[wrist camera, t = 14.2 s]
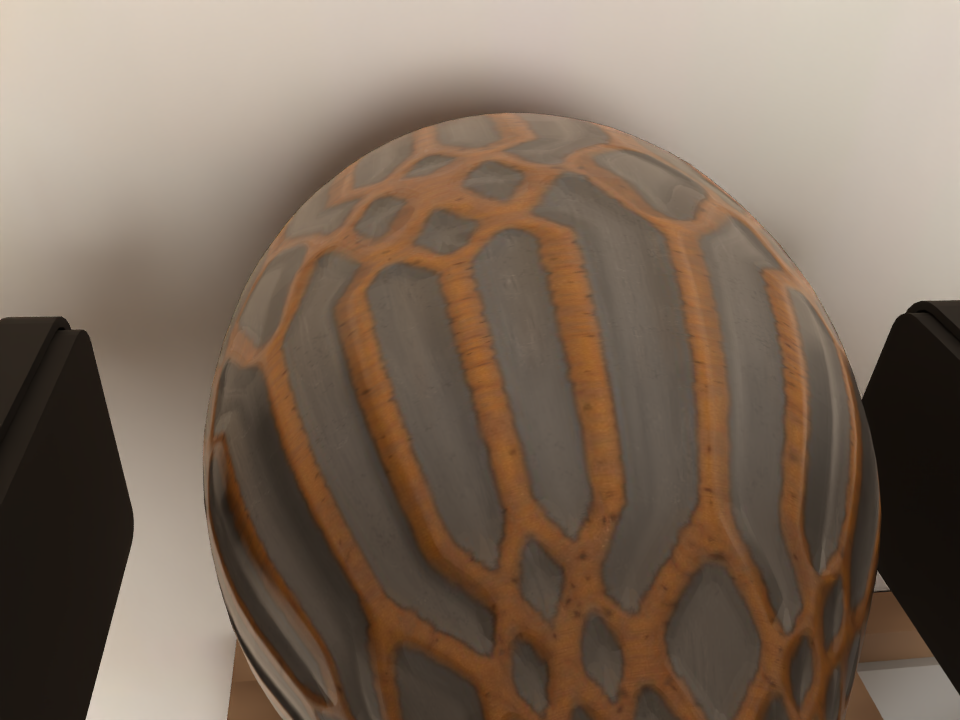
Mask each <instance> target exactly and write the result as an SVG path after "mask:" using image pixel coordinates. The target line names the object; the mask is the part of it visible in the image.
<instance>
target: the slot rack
mask: <svg viewBox="0 0 960 720" xmlns="http://www.w3.org/2000/svg"><path fill="white" fill-rule="evenodd" d="M227 720H283V719H282V718H281V717H280V715H279V714H278V712H277V711H276V710H275V708H274V707H273V705H272V704H271V702H270V700H269V699H268V697H267V696H266V694H265V692H264V691H263V689H262V688H261V686H260V685H259V683H258V681H257V679H256V678H255V676H254V674H253V672H252V671H251V669H250V666H249V664H248V662H247V660H246V657H245V655H244V653H243V651H242V648H241V646H240V644H239V642H238V639H237V643H236V651H235V659H234V667H233V675H232V684H231V692H230V700H229V708H228V717H227ZM844 720H960V695H959V694H958V692H957V691H956V689H955V688H954V686H953V685H952V683H951V682H950V680H949V678H948V677H947V675H946V674H945V672H944V671H943V669H942V668H941V666H940V665H939V663H938V662H937V660H936V659H935V657H934V656H933V654H932V653H931V651H930V649H929V648H928V646H927V645H926V643H925V642H924V640H923V639H922V637H921V636H920V634H919V633H918V631H917V630H916V628H915V627H914V625H913V624H912V622H911V621H910V619H909V617H908V616H907V614H906V613H905V611H904V610H903V608H902V607H901V605H900V604H899V602H898V601H897V599H896V598H895V596H894V595H893V593H892V592H878V593H873V597H872V603H871V608H870V613H869V618H868V622H867V627H866V631H865V636H864V641H863V645H862V649H861V654H860V658H859V662H858V667H857V671H856V676H855V680H854V684H853V688H852V692H851V696H850V700H849V704H848V707H847V711H846V715H845V719H844Z"/></svg>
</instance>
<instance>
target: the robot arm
mask: <svg viewBox="0 0 960 720" xmlns="http://www.w3.org/2000/svg"><path fill="white" fill-rule="evenodd" d="M862 404H863V407H864V411H865V414H866V418H867V421H868V425H869V428H870V433H871V437H872V442H873V447H874V452H875V457H876V463H877V471H878V479H879V489H880V501H881V532H880V549H879V563H878V569H877V570H878V572H879V573H880V575H881V576H882V578H883V579H884V581H885V582H886V584H887V585H888V587H889V588H890V590H891V592H892V593H893V595H894V596H895V598H896V599H897V601H898V602H899V604H900V605H901V607H902V608H903V610H904V611H905V613H906V614H907V616H908V617H909V619H910V621H911V622H912V624H913V625H914V627H915V628H916V630H917V631H918V633H919V634H920V636H921V637H922V639H923V640H924V642H925V643H926V645H927V646H928V648H929V649H930V651H931V653H932V654H933V656H934V657H935V659H936V660H937V662H938V663H939V665H940V666H941V668H942V669H943V671H944V672H945V674H946V675H947V677H948V678H949V680H950V682H951V683H952V685H953V686H954V688H955V689H956V691H957V692H958V694H959V695H960V300H951V301H920V302H917V303H914V304H913V305H912V306H911V307H910V308H909V309H908V310H907V312H906V313H905V314H902V315H900V316H899V317H898V318H897V319H896V320H895V322H894V324H893V325H892V328H891V330H890V333H889V335H888V338H887V340H886V342H885V345H884V347H883V350H882V352H881V354H880V357H879V359H878V362H877V364H876V367H875V369H874V371H873V374H872V376H871V379H870V381H869V384H868V386H867V388H866V391H865V393H864V396H863V398H862ZM133 531H134V519H133V511H132V506H131V502H130V498H129V494H128V490H127V486H126V482H125V478H124V473H123V469H122V465H121V461H120V457H119V453H118V449H117V445H116V441H115V437H114V433H113V429H112V425H111V421H110V417H109V413H108V409H107V405H106V401H105V397H104V393H103V389H102V384H101V380H100V376H99V372H98V368H97V364H96V360H95V356H94V352H93V348H92V344H91V341H90V338H89V335H88V334H87V332H86V331H84V330H71V327H70V325H69V323H68V322H67V320H66V319H65V318H63V317H62V316H61V317H7V318H3V319H1V320H0V720H85V719H86V716H87V712H88V708H89V704H90V700H91V697H92V693H93V689H94V685H95V681H96V678H97V674H98V670H99V666H100V662H101V659H102V655H103V651H104V647H105V643H106V640H107V636H108V632H109V628H110V624H111V621H112V617H113V613H114V609H115V605H116V602H117V598H118V594H119V590H120V586H121V583H122V579H123V575H124V571H125V567H126V564H127V560H128V556H129V552H130V548H131V544H132V539H133Z"/></svg>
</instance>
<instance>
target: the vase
mask: <svg viewBox="0 0 960 720" xmlns="http://www.w3.org/2000/svg"><path fill="white" fill-rule="evenodd" d="M203 485H204V504H205V511H206V518H207V525H208V533H209V539H210V545H211V550H212V555H213V560H214V564H215V569H216V573H217V577H218V582H219V585H220V589H221V592H222V596H223V599H224V602H225V605H226V608H227V612H228V615H229V618H230V621H231V624H232V627H233V630H234V632H235V635H236V637H237V639H238V642H239V644H240V646H241V648H242V651H243V653H244V655H245V657H246V660H247V662H248V664H249V666H250V669H251V671H252V672H253V674H254V676H255V678H256V679H257V681H258V683H259V685H260V686H261V688H262V689H263V691H264V692H265V694H266V696H267V697H268V699H269V700H270V702H271V704H272V705H273V707H274V708H275V710H276V711H277V712H278V714H279V715H280V717H281V718H282V719H283V720H844V719H845V715H846V711H847V707H848V704H849V700H850V696H851V692H852V688H853V684H854V680H855V676H856V671H857V667H858V662H859V658H860V654H861V649H862V645H863V641H864V636H865V631H866V627H867V622H868V618H869V613H870V608H871V603H872V597H873V592H874V586H875V580H876V575H877V569H878V563H879V549H880V532H881V501H880V489H879V479H878V471H877V463H876V457H875V452H874V447H873V442H872V437H871V433H870V428H869V425H868V421H867V418H866V414H865V411H864V407H863V404H862V400H861V397H860V394H859V390H858V387H857V384H856V380H855V377H854V374H853V371H852V369H851V366H850V364H849V361H848V359H847V356H846V354H845V351H844V348H843V346H842V344H841V341H840V339H839V337H838V335H837V332H836V330H835V328H834V326H833V324H832V322H831V321H830V319H829V317H828V315H827V313H826V311H825V310H824V308H823V306H822V304H821V302H820V300H819V299H818V297H817V295H816V294H815V292H814V290H813V289H812V287H811V285H810V284H809V282H808V281H807V280H806V278H805V277H804V276H803V274H802V273H801V272H800V270H799V269H798V268H797V266H796V265H795V264H794V263H793V261H792V260H791V259H790V257H789V256H788V255H787V254H786V252H785V251H784V250H783V248H782V247H781V246H780V245H779V243H778V242H777V241H776V240H775V239H774V238H773V237H772V236H771V235H770V234H769V233H768V232H767V231H766V229H765V228H764V227H763V226H762V225H761V224H760V223H759V222H758V221H757V220H756V219H755V218H754V217H753V216H752V215H751V214H750V213H749V212H748V211H747V210H746V209H745V208H744V207H743V206H742V205H740V204H739V203H738V202H737V201H736V200H735V199H734V198H732V197H731V196H730V195H729V194H728V193H727V192H725V191H724V190H723V189H722V188H721V187H719V186H718V185H717V184H716V183H714V182H713V181H712V180H711V179H709V178H708V177H707V176H705V175H704V174H703V173H701V172H700V171H699V170H697V169H696V168H694V167H693V166H692V165H690V164H689V163H687V162H685V161H683V160H682V159H680V158H678V157H677V156H675V155H673V154H672V153H670V152H667V151H665V150H663V149H661V148H659V147H657V146H655V145H653V144H650V143H648V142H646V141H644V140H642V139H639V138H637V137H635V136H632V135H630V134H627V133H625V132H622V131H619V130H616V129H614V128H611V127H607V126H604V125H600V124H596V123H593V122H589V121H584V120H578V119H573V118H568V117H561V116H554V115H545V114H535V113H496V114H484V115H477V116H469V117H464V118H459V119H454V120H450V121H445V122H441V123H438V124H435V125H431V126H428V127H425V128H422V129H419V130H416V131H414V132H411V133H408V134H406V135H403V136H401V137H399V138H397V139H395V140H392V141H390V142H388V143H386V144H384V145H382V146H380V147H378V148H377V149H375V150H373V151H371V152H370V153H368V154H366V155H364V156H363V157H361V158H360V159H358V160H357V161H355V162H354V163H352V164H351V165H350V166H348V167H347V168H345V169H344V170H343V171H341V172H340V173H339V174H338V175H336V176H335V177H334V178H333V179H332V180H330V181H329V182H328V183H327V184H325V185H324V186H323V187H322V188H320V189H319V190H318V191H317V192H316V193H315V194H314V195H313V196H312V197H311V198H310V199H308V200H307V201H306V202H305V203H304V204H303V205H302V206H301V207H300V209H299V210H298V211H297V212H296V213H295V214H294V215H293V216H292V217H291V219H290V220H289V221H288V222H287V223H286V225H285V226H284V227H283V229H282V230H281V231H280V233H279V234H278V235H277V237H276V238H275V239H274V241H273V242H272V244H271V245H270V246H269V248H268V249H267V250H266V252H265V253H264V255H263V256H262V258H261V259H260V261H259V262H258V264H257V266H256V267H255V269H254V271H253V272H252V274H251V276H250V278H249V280H248V282H247V284H246V286H245V288H244V290H243V292H242V294H241V296H240V299H239V302H238V304H237V307H236V309H235V312H234V314H233V317H232V320H231V322H230V325H229V328H228V330H227V333H226V335H225V338H224V341H223V345H222V349H221V352H220V356H219V360H218V364H217V367H216V371H215V375H214V379H213V383H212V386H211V392H210V398H209V405H208V411H207V418H206V425H205V432H204V445H203Z"/></svg>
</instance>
